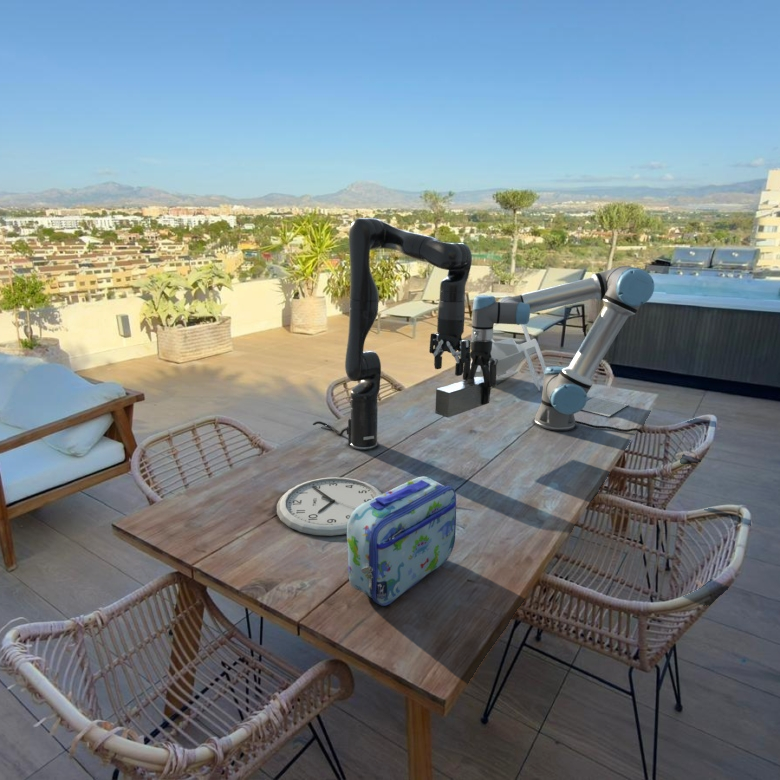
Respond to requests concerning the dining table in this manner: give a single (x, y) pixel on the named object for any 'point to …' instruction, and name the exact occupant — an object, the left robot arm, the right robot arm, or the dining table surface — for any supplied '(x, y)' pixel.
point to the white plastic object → (514, 355)
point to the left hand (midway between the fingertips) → (448, 372)
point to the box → (460, 397)
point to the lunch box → (400, 538)
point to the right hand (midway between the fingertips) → (477, 401)
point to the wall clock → (324, 504)
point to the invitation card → (603, 406)
